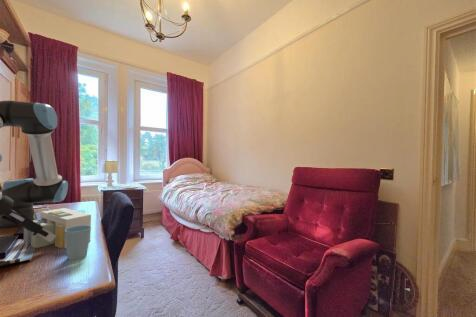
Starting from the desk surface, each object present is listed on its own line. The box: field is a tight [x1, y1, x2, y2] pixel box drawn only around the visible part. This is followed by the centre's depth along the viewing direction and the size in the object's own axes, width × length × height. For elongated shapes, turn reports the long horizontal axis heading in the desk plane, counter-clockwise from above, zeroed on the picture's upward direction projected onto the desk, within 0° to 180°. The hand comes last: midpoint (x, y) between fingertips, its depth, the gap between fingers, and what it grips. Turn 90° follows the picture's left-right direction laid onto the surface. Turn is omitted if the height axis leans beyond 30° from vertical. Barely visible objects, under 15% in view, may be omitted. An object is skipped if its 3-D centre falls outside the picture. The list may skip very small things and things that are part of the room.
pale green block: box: [30, 222, 55, 249], centre depth 89 cm, size 8×4×8 cm, turn 151°
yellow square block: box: [54, 224, 65, 249], centre depth 90 cm, size 8×4×8 cm, turn 151°
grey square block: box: [23, 219, 47, 245], centre depth 93 cm, size 8×4×8 cm, turn 151°
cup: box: [65, 225, 92, 261], centre depth 79 cm, size 8×8×10 cm
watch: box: [33, 207, 52, 220], centre depth 105 cm, size 6×8×11 cm
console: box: [40, 207, 92, 249], centre depth 95 cm, size 9×22×12 cm, turn 61°
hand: (52, 238), depth 85 cm, fingers closed
